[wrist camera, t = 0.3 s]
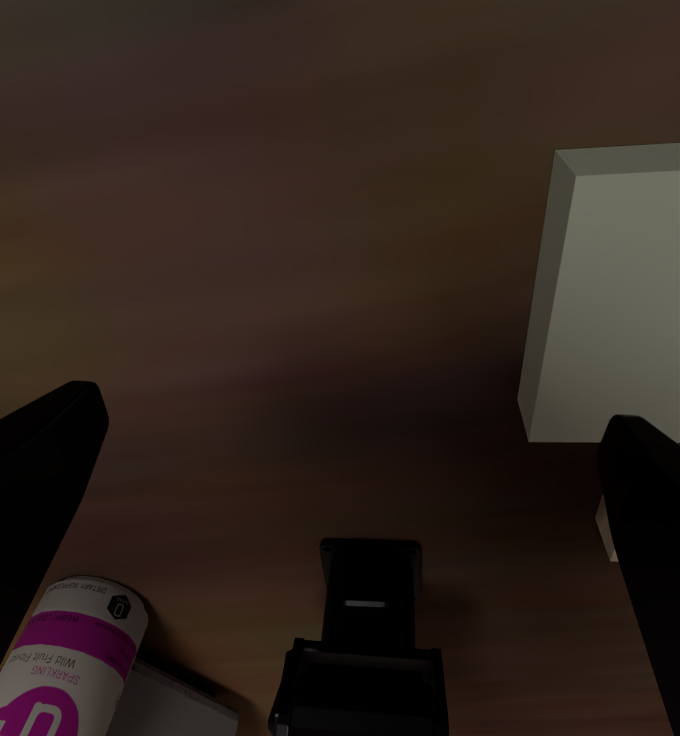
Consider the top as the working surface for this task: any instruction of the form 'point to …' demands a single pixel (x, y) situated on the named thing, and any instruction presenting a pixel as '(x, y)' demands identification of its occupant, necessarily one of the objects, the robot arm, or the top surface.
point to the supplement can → (72, 660)
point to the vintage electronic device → (169, 707)
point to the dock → (606, 296)
